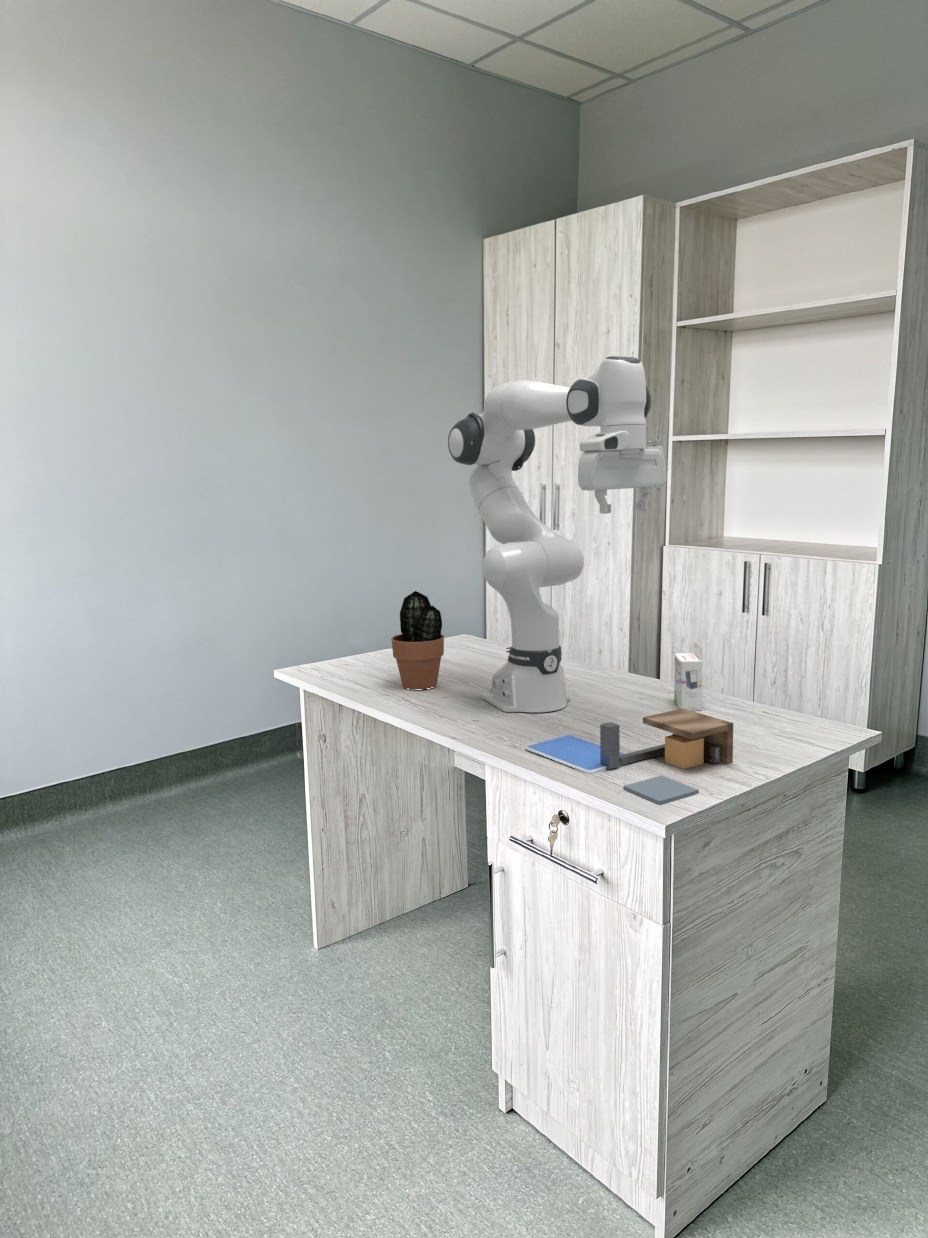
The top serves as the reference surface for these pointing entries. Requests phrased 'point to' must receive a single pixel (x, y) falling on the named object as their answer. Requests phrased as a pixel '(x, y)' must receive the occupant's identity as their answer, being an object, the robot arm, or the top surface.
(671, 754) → the orange block
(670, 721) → the walnut shelf
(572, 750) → the blue flat slab
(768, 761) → the top surface
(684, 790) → the slate mat
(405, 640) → the potted plant
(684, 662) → the ink box
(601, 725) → the grey u-shaped bracket
